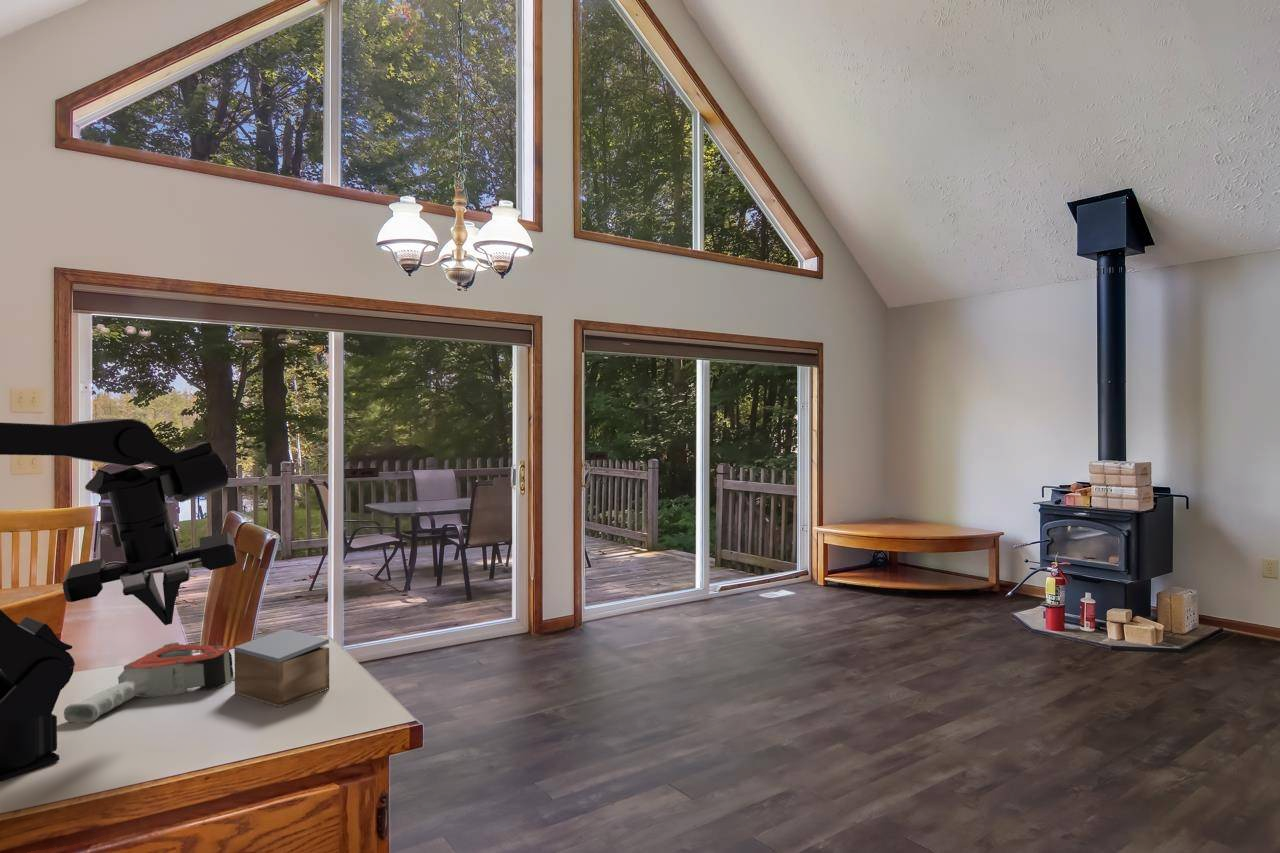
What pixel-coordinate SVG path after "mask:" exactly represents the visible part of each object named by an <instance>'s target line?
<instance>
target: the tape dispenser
mask: <svg viewBox="0 0 1280 853" xmlns="http://www.w3.org/2000/svg"><path fill="white" fill-rule="evenodd" d="M232 649H233V647H231V646H225V645H207V644H205V645H204V644H180V643H179V642H170V643H166V644H164V645H163V646H162V647H160V648H158V649H156V650H153V651H152V652H149V653H147V654H145V655H144V656H142V657H139V658H138V659H136V660H133V661H131V662H130V663H127V664H125V665H124V666H123V671H122V672H121V673H120V674H119V675H118V677H117V680H118V684H115V685H114V686H110V687H108V688H107V689H104V690H102V691H100V692H98V693H95V694H93V695H92V696H90V697H88V698H86V699H84V700H81V701H79V702H76V703H70V704H69V705H67V706H66V707H65V708H64V711H63V717H64V720H65V721H66V722H68V723H70V722H82V723H85V724H86V722H87V723H93V722H95V721H96V720H97V718H99V717H100V716H101V715H104V714H105V713H108V712H109V711H111V710H112V709H115V708H117V707H118V706H120V705H122V704H124V703H125V702H127V701H130V700H131V699H132V698H134V697H144V698H145V697H146V698H154V697H162V696H169V695H170V696H171V695H178V694H185V693H186V692H188V691H189V690H188V689H193V688H199V687H200V688H201V689H202V690H208V691H209V690H214V689H215V690H216V689H218V688H221V686H222V687H223V685H224V686H226V685H228V684H229V683H228V682H230V683H232V682H231V681H233V680H235V676H234V669H233V657H232V653H231V652H230V651H231V650H232ZM193 650H194V651H201V652H203V653H201V654H193ZM233 682H234V681H233ZM227 683H228V684H227ZM225 684H226V685H225Z"/></svg>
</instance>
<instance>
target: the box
mask: <svg viewBox="0 0 1280 853" xmlns="http://www.w3.org/2000/svg"><path fill="white" fill-rule="evenodd" d="M233 654H234V677H235V681H234V694H235V693H237V694H236V695H238V694H239V696H241V697H245V696H246V697H245V698H249V699H251V698H252V700H254V699H255V701H257V700H258V702H261V701H262V702H261V703H264V702H266V703H265V704H267V703H269V704H268V705H270V704H271V705H270V706H273V705H275V706H274V707H277V708H281V707H284V706H286V705H285V704H287V705H290V704H292V703H294V701H295V702H298V701H300V700H303V699H306V698H308V696H309V697H311V696H314V695H316V693H317V694H319V693H318V692H320V691H322V692H325V691H326V690H325V689H327V688H329V689H330V647H328V646H325V645H323V646H321V647H318V648H316V649H313V650H310V651H308V652H305V653H303V654H300V655H298V656H295V657H293V658H290V659H287V660H285V661H282V662H280V663H277V662H274V661H270V660H266V659H262V658H259V657H255V656H251V655H247V654H244V653H240V652H236V651H234V653H233ZM324 690H325V691H324ZM320 693H321V692H320ZM313 694H314V695H313ZM305 697H306V698H305ZM299 699H300V700H299ZM297 700H298V701H297ZM291 702H292V703H291ZM283 705H284V706H283ZM280 706H281V707H280Z"/></svg>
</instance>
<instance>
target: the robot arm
mask: <svg viewBox="0 0 1280 853" xmlns="http://www.w3.org/2000/svg"><path fill="white" fill-rule="evenodd" d="M1 455H4V456H59V457H65V458H69V459H77V460H81V461H87V462H94V463H100V464H106V465H117V466H125V467H126V466H129V467H128V468H125V469H122V470H118V471H115V472H114V471H113V472H111V473H109V472H107V471H105V470H102V469H97V470H96V472H95V474H94V476H93V477H92V478H91V479H90V480H89V481H88V482H87V483H86V484H85V486H84V488H85V490H87V491H89V492H92V493H95V494H97V495H104V494H107V496H108V498H109V503H110V505H111V510H112V514H113V517H114V522H115V523H112V524H111V532H112V533H111V534H112V539H113V545H114V547H115V548H120V547H121V548H122V552H123V556H124V560H125V562H121V563H118V564H114V565H109V566H108V565H107V563H106V560H105V558H100V559H93V560H90V561H85V562H80V563H76V564H75V563H74V564H71V566H70V567H69V568H68V570H66V574H65V577H64V578H63V582H62V590H63V594H64V597H65V601H66V602H67V603H74V602H78V601H83V600H87V599H91V598H96V597H98V595H99V594H100V593H101V592H102V590H104V586H103V584H105V583H110V582H114V581H119V580H120V582H121V584H122V587H123V588H122V594H123V596H130V595H133V596H134V597H135V598H136V599H138V600H139V601H140V602H142V604H144V605H145V606H147V608H148V609H149V610H150V611H152V612H151V613H152V614H154V615H155V616H156V617H157V618H158V620H159V621H160V622H161V623H162V624H163V625H164V626H168V625H172V624H173V619H174V613H175V612H174V611H175V604H176V603H175V602H176V599H177V595H178V593H179V590H180V587H181V584H183V583H186V582H188V581H190V567H191V566H190V564H191V565H192V564H196V563H199V562H201V565H202V567H203V568H205V569H207V570H209V571H213V570H214V571H215V570H217V569H221V568H222V569H223V568H227V567H231V566H233V565H236V564H237V563H238V561H237V560H238V559H237V553H236V552H237V551H236V544H235V540H234V537H233V534H231V533H229V532H221V533H218V534H213V535H209V536H208V535H207V536H204V537H199V546H197V547H192V548H188V549H183V550H178V548H179V546H180V544H179V539H178V535H177V530H176V527H175V526H174V521H173V519H171V517H170V513H169V509H168V505H167V501H166V497H167V498H168V499H169V498H170V499H171V498H173V499H174V500H175V501H177V502H179V503H184V502H187V501H189V500H192V499H195V498H198V497H201V496H205V495H207V494H210V493H213V492H215V491H219V490H223V489H225V488H226V487H227V485H228V482H229V473H228V469H227V466H226V464H224V462H223V460H222V459H221V458H220V456H219V455H218V453H217V452H216V451H214V450H213V448H212V444H211V442H210V441H209V442H208V441H201V442H200V441H199V442H197V443H194V444H191V445H190V446H188V447H184V448H181V449H177V450H172V449H171V448H169V447H168V446H166V445H165V444H164V443H162V442H161V441H159V440H158V439H157V438H156V435H155V433H154V431H153V429H152V428H151V427H150V426H149V425H148V424H147V422H145V421H143V420H139V419H135V418H104V419H103V418H100V419H91V420H83V421H76V422H75V421H74V422H69V423H68V422H66V423H61V424H59V423H57V424H44V423H43V424H42V423H18V422H0V456H1ZM138 465H152V466H153V467H149V468H146V469H142V470H140V469H139V468H137V467H133V466H138ZM160 571H162V573H163V578H162V589H163V599H164V600H163V599H162V596H161V594H160V591H159V589H158V587H157V584H156V580H155V577H154V573H156V572H160ZM72 649H73V646H72V644H68V643H66V642H63V641H61V640H60V638H59V637H58V636H57V634H55V632H54V631H53V629H52V628H51V627H50V626H49V624H47V623H45V622H42V621H40V620H38V619H35V618H32V617H30V616H25V617H24V618H23V619H22V620H21V621H20V622H19V623H17V622H16V621H14V620H12V619H11V618H10V617H9V615H8V614H6V613H5V612H3V610H1V609H0V781H2V780H5V779H7V778H8V779H9V778H10V777H13V776H16V775H19V774H23V773H26V772H28V771H29V772H30V771H32V770H34V769H37V768H40V767H43V766H46V765H49V764H52V763H56V762H57V761H59V760H60V755H59V754H58V753H56V751H57V750H58V716H57V715H56V714H53V711H54V709H55V706H56V704H57V701H58V698H59V696H60V693H61V691H62V690H63V689H64V688H65V687H66V686H67V684H68V683H69V682H70V681H71V678H72V676H73V675H74V669H75V666H76V663H75V658H73V656H72V655H71V653H70V652H68V651H69V650H72Z"/></svg>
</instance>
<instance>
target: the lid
mask: <svg viewBox="0 0 1280 853" xmlns="http://www.w3.org/2000/svg"><path fill="white" fill-rule="evenodd" d="M327 644H330V639H329V638H326V637H321V636H317V635H312V634H308V633H303V632H299V631H296V630H291V629H290V630H289V629H287V628H284V629H281V630H278V631H275V632H272V633H270V634H267V635H265V636H264V635H263V636H261V637H259V638H256V639H253V640H250V641H247V642H245V643H241V644H239V645H236V646H234V647H233V649H234V651H236V652H240V653H244V654H247V655H251V656H255V657H259V658H262V659H266V660H270V661H274V662H277V663H280V662H282V661H285V660H287V659H290V658H293V657H295V656H298V655H300V654H303V653H305V652H308V651H310V650H313V649H316V648H318V647H321V646H325V645H327Z"/></svg>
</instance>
